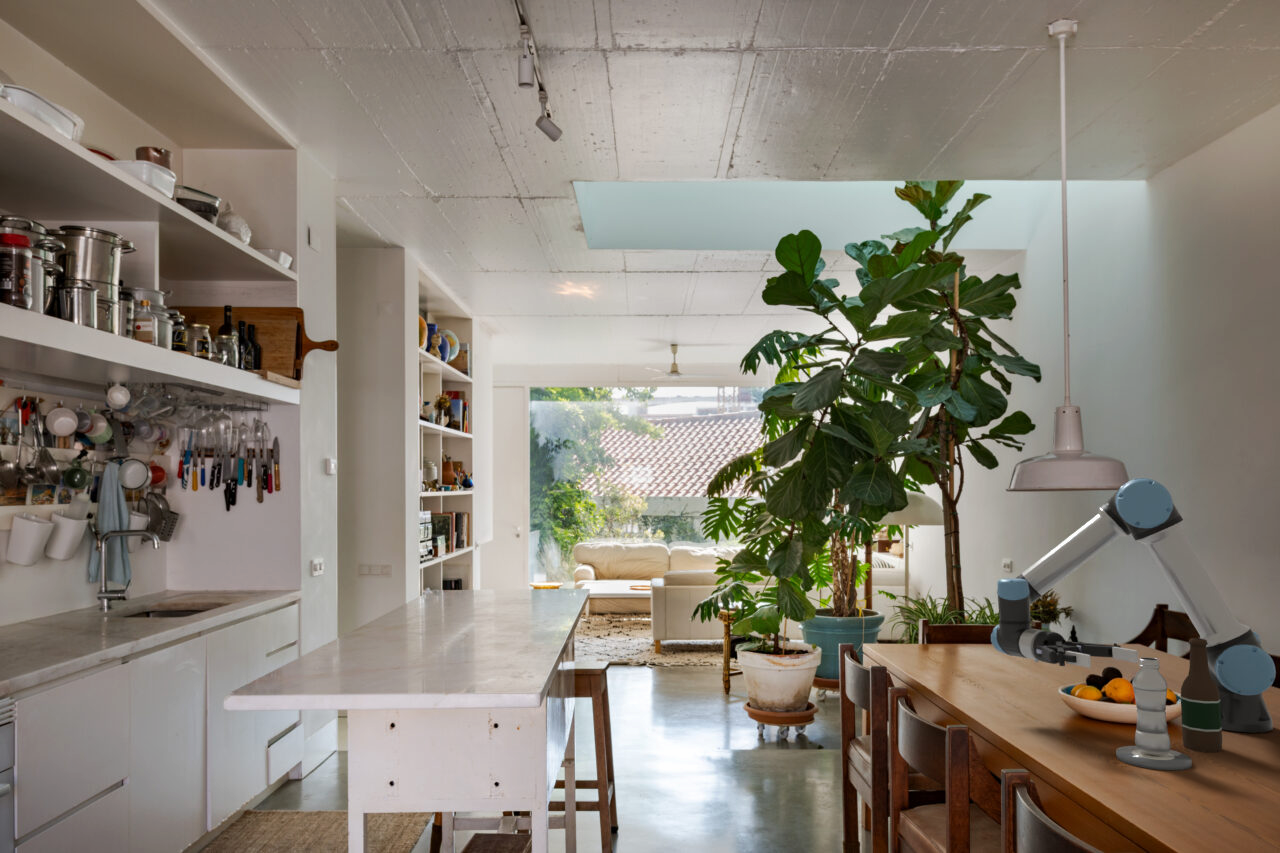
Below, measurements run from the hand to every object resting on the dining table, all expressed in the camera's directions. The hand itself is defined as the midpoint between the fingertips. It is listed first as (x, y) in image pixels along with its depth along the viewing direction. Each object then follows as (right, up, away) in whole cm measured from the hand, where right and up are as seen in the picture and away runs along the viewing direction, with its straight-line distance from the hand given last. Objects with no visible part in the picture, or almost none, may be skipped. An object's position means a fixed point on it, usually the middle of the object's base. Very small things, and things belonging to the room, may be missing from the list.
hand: (1113, 659), depth 206 cm
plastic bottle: (+3, -18, -10) cm, 21 cm away
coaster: (+3, -19, -10) cm, 22 cm away
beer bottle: (+20, -20, -1) cm, 28 cm away
